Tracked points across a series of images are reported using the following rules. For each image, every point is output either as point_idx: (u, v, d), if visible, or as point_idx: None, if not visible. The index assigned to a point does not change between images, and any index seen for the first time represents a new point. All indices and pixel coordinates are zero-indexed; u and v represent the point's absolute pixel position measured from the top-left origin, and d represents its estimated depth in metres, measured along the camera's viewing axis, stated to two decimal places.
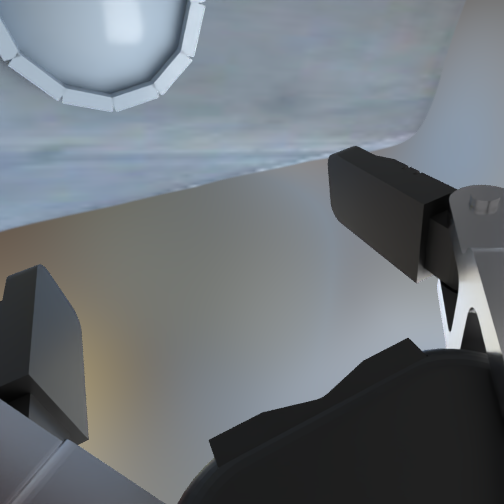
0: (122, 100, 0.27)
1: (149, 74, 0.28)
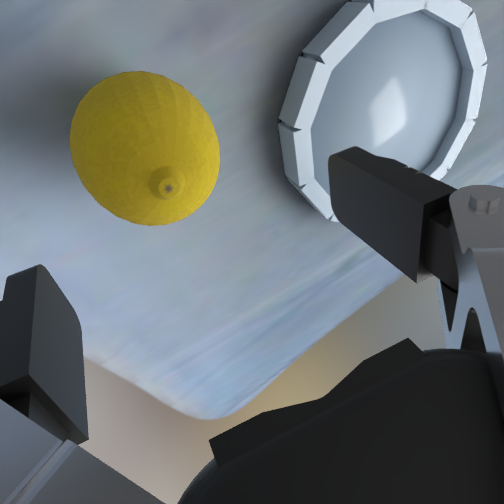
0: None
1: (431, 155, 0.26)
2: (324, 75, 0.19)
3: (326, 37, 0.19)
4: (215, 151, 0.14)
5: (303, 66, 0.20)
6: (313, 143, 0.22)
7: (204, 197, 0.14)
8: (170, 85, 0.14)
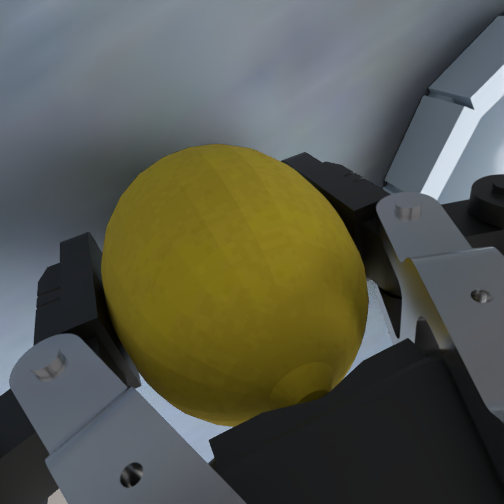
0: None
1: None
2: (470, 125, 0.13)
3: (473, 69, 0.13)
4: (368, 297, 0.08)
5: (434, 111, 0.13)
6: None
7: None
8: (290, 181, 0.07)
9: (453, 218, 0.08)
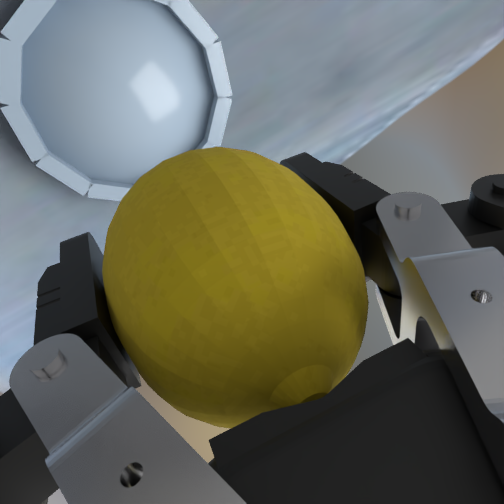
0: None
1: (200, 133, 0.27)
2: (14, 51, 0.20)
3: None
4: None
5: None
6: (42, 120, 0.23)
7: None
8: (290, 184, 0.07)
9: (453, 218, 0.08)
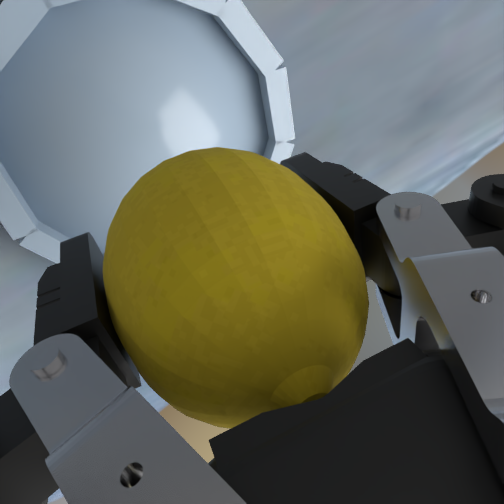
0: None
1: None
2: None
3: None
4: (368, 300, 0.08)
5: None
6: (29, 180, 0.16)
7: None
8: (291, 185, 0.07)
9: (453, 218, 0.08)
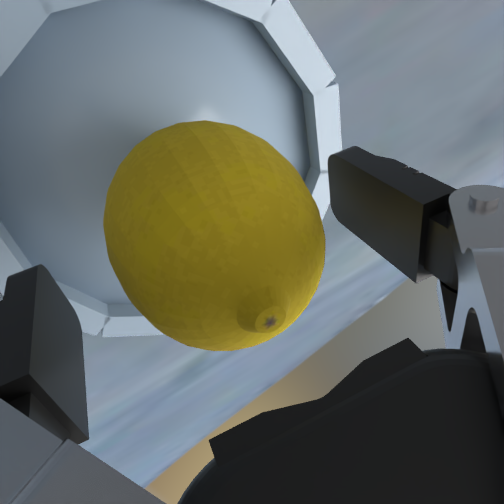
0: None
1: None
2: None
3: None
4: None
5: None
6: (25, 225, 0.13)
7: None
8: (259, 147, 0.09)
9: None
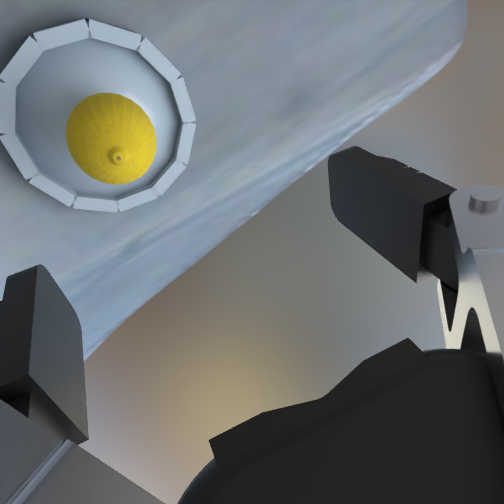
0: (160, 185, 0.31)
1: (170, 153, 0.31)
2: (9, 91, 0.25)
3: None
4: (149, 138, 0.24)
5: None
6: (34, 145, 0.27)
7: (144, 166, 0.24)
8: (122, 100, 0.23)
9: None
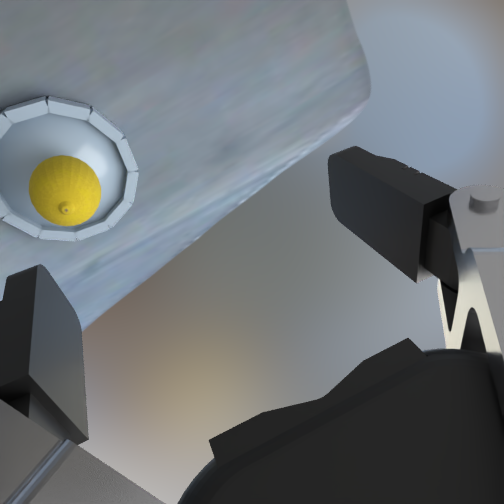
0: (111, 219, 0.39)
1: (119, 193, 0.39)
2: None
3: None
4: (92, 192, 0.31)
5: None
6: (6, 191, 0.35)
7: (89, 213, 0.32)
8: (71, 164, 0.31)
9: None
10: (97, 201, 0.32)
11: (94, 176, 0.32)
